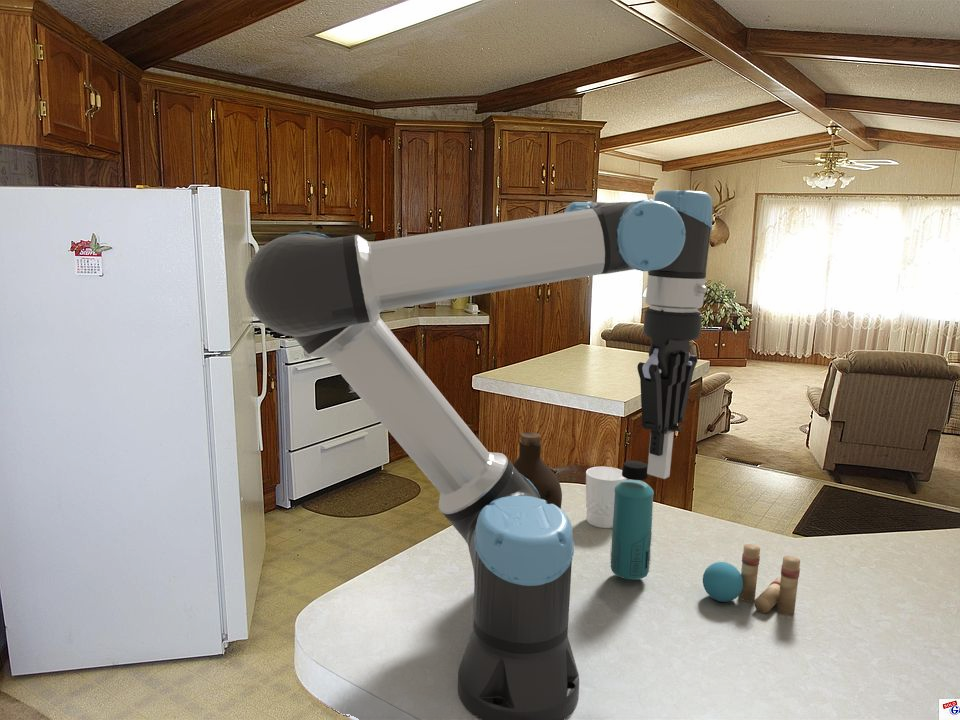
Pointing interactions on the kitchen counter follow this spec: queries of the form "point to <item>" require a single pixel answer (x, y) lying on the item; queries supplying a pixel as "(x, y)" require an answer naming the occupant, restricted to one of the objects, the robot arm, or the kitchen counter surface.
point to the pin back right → (788, 585)
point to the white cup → (601, 495)
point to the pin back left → (749, 571)
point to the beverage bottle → (632, 523)
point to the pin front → (768, 597)
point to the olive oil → (537, 469)
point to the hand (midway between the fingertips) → (658, 475)
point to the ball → (722, 581)
